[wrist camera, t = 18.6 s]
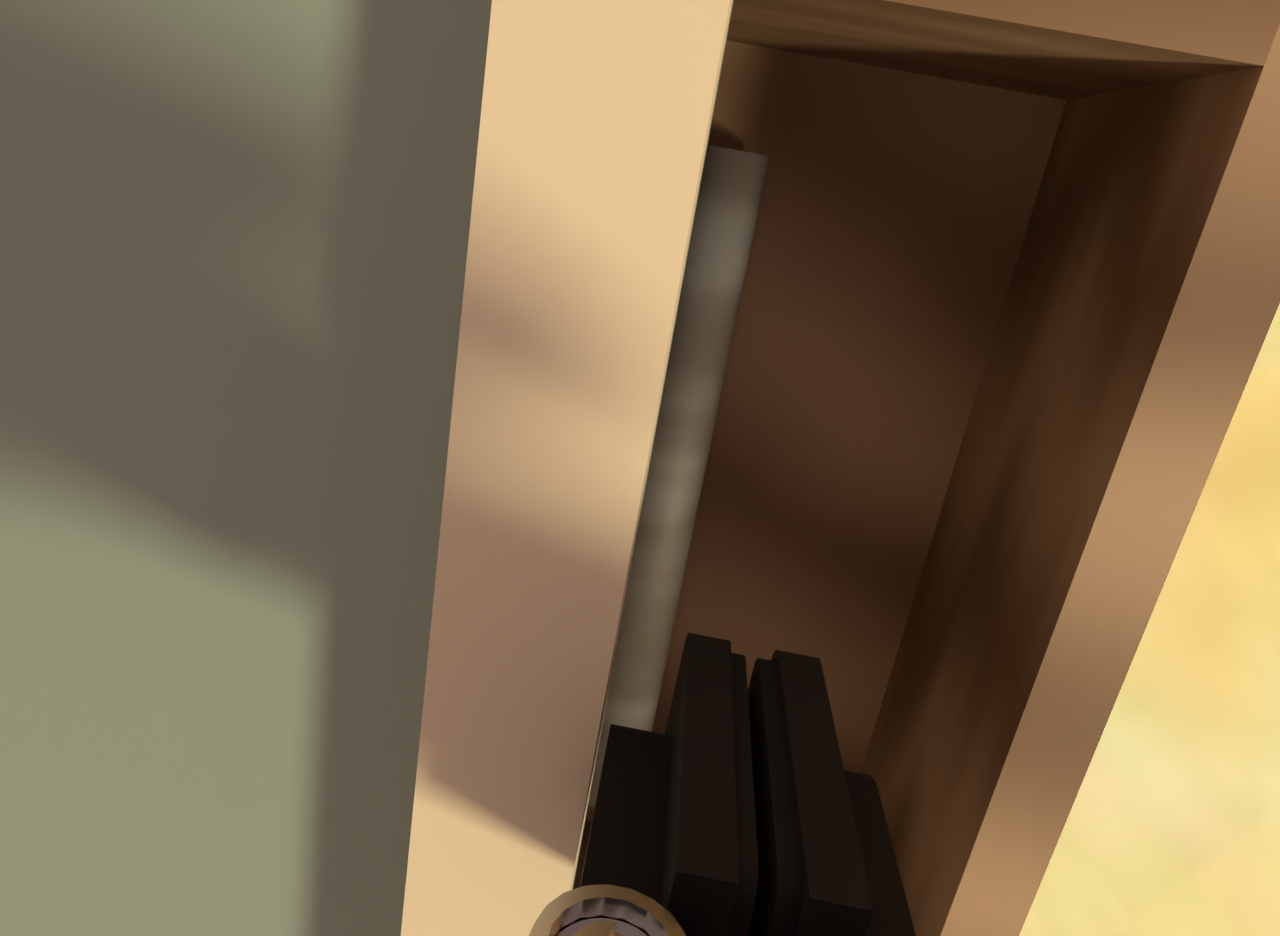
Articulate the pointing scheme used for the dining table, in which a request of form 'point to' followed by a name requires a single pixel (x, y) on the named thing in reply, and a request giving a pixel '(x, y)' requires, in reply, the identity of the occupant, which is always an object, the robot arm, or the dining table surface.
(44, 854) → the lid
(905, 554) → the toolbox
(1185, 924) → the dining table surface
